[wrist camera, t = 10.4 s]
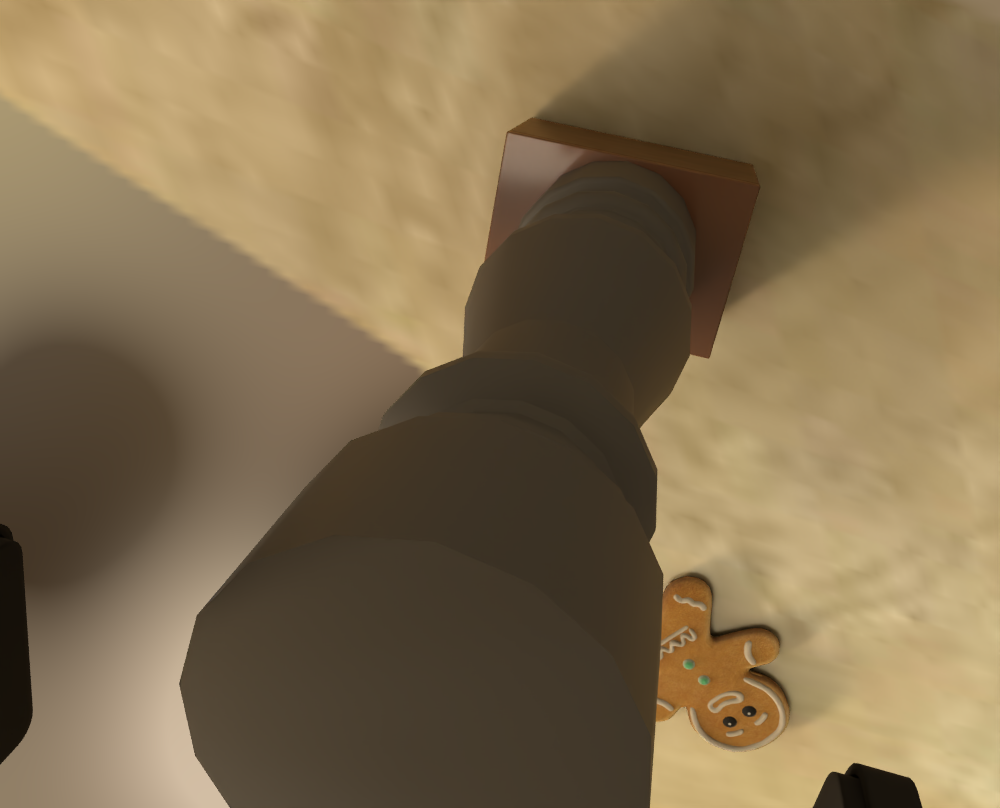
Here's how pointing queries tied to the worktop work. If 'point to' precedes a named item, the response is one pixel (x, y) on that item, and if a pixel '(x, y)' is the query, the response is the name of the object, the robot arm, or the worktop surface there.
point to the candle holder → (475, 548)
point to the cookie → (717, 673)
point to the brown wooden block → (696, 177)
